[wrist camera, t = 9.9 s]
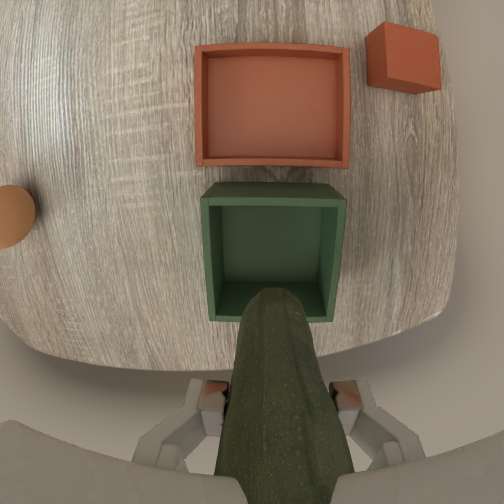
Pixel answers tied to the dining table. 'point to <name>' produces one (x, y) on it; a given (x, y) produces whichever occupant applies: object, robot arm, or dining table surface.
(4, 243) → the egg
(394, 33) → the terracotta block
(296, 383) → the vegetable
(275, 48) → the terracotta tray
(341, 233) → the produce bin
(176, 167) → the dining table surface
